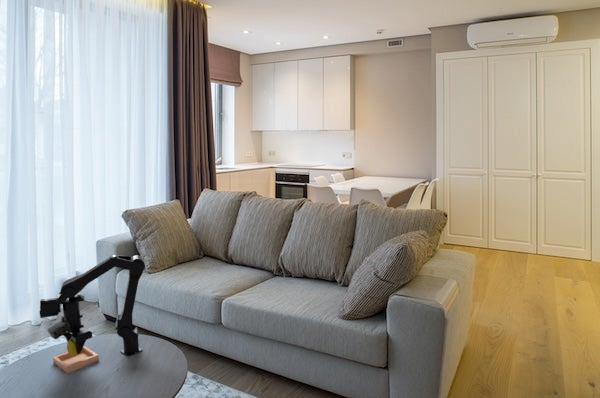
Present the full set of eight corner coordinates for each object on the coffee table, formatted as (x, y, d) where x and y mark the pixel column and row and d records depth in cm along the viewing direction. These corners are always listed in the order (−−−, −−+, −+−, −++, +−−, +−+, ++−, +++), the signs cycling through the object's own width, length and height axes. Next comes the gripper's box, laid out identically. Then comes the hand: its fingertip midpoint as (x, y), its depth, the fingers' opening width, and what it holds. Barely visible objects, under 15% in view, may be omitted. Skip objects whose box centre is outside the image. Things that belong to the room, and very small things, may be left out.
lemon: (80, 351, 174) (79, 332, 173) (85, 356, 170) (84, 336, 169) (65, 356, 170) (63, 336, 169) (70, 361, 166) (68, 341, 165)
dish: (98, 360, 171) (98, 354, 171) (66, 373, 162) (66, 367, 162) (84, 351, 179) (84, 345, 179) (53, 363, 170) (52, 357, 169)
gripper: (39, 313, 167) (43, 352, 170) (60, 326, 156) (64, 367, 158) (69, 304, 176) (73, 341, 178) (91, 316, 164) (94, 355, 166)
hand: (75, 351), depth 170 cm, fingers closed on lemon, 5 cm apart
